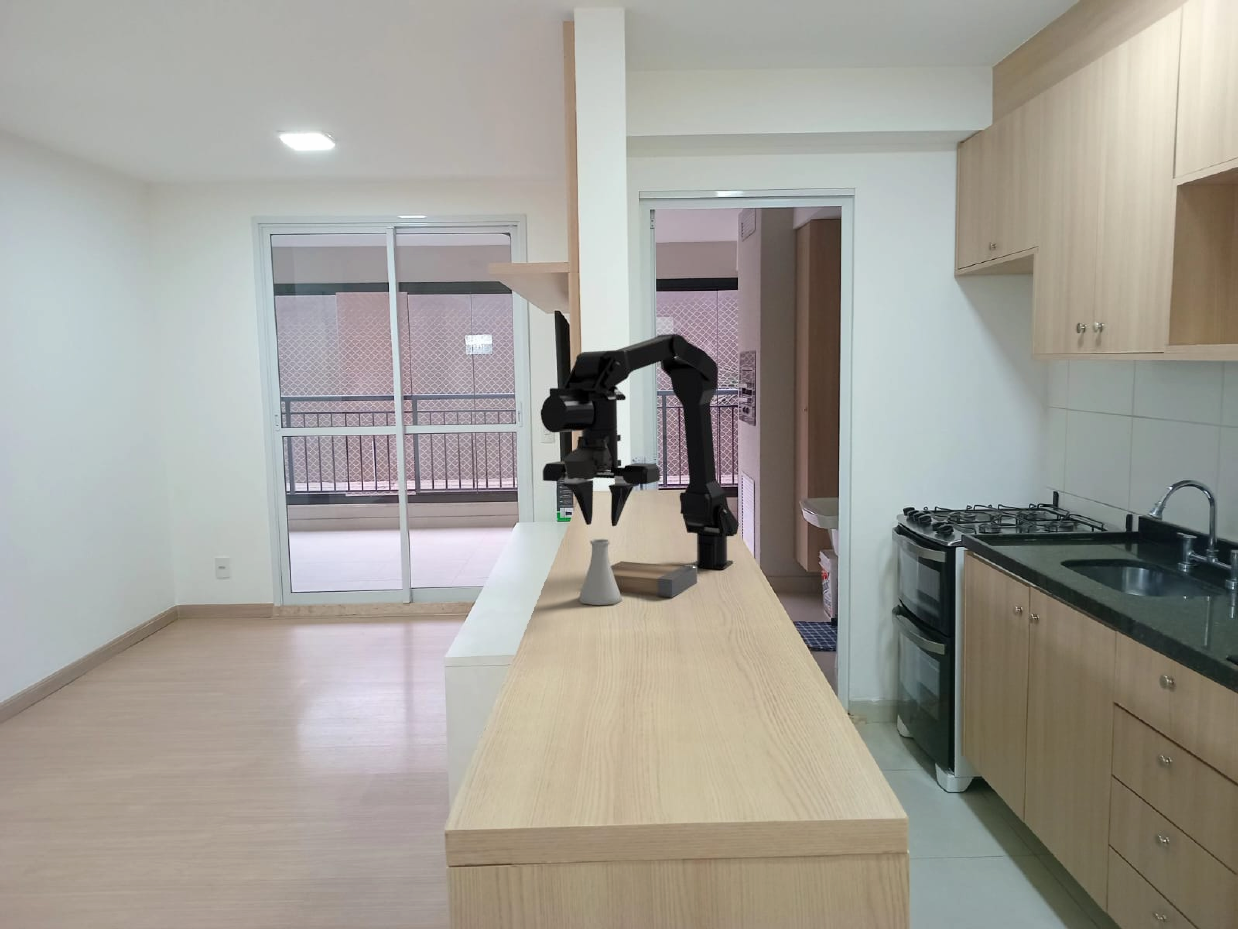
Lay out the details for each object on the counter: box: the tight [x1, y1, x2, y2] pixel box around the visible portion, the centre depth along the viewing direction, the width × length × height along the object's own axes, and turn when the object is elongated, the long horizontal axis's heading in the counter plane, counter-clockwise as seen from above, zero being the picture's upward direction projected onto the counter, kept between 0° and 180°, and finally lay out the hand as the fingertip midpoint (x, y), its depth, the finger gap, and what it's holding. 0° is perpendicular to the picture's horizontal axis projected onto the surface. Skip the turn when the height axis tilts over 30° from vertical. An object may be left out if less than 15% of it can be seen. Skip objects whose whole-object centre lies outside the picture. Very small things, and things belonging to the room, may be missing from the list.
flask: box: [578, 538, 623, 606], centre depth 139 cm, size 7×7×10 cm
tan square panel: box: [610, 561, 683, 597], centre depth 149 cm, size 11×12×3 cm
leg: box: [657, 564, 698, 599], centre depth 146 cm, size 12×2×3 cm, turn 153°
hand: (601, 525), depth 139 cm, fingers open, 4 cm apart
